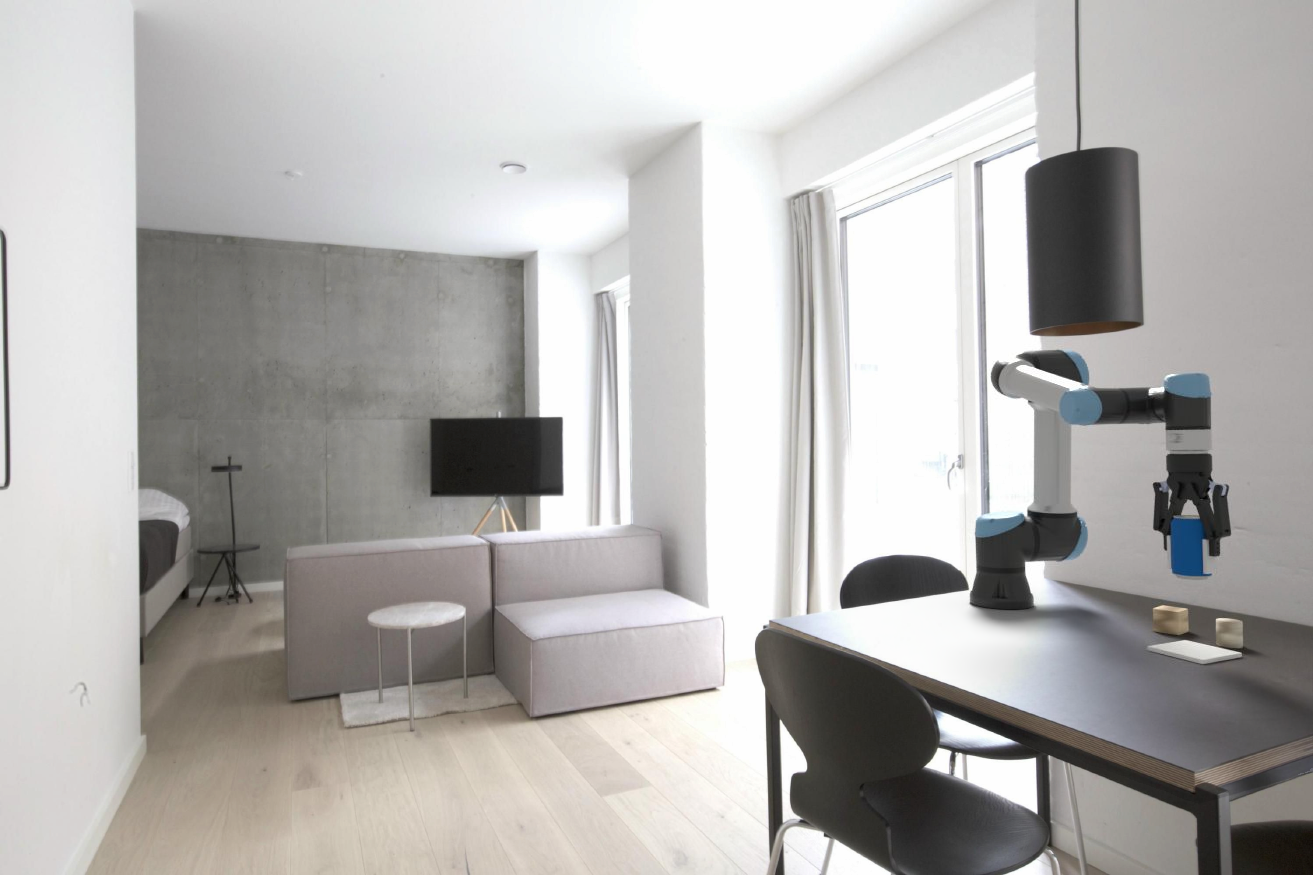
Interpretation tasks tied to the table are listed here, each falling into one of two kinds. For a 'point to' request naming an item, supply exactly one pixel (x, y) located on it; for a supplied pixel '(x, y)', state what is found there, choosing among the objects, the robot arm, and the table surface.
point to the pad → (1194, 651)
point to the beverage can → (1187, 547)
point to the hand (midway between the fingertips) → (1191, 570)
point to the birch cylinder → (1229, 633)
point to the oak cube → (1170, 620)
